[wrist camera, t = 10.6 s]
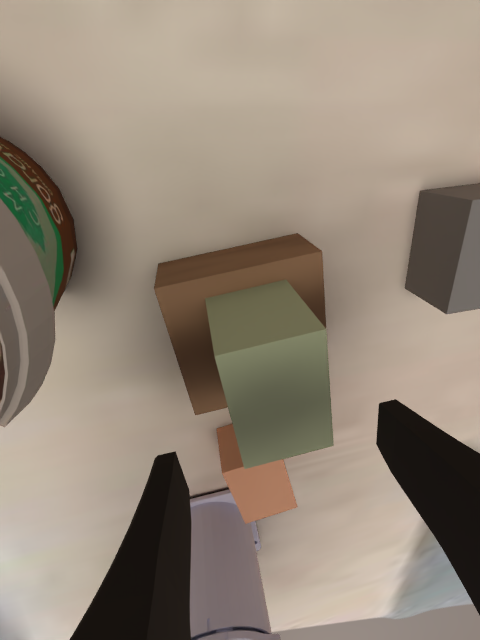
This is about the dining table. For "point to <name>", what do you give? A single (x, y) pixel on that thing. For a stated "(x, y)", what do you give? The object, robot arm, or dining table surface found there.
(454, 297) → the charcoal brick
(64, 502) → the dining table surface
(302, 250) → the walnut block
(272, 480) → the terracotta brick
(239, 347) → the sage brick
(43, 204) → the food container
